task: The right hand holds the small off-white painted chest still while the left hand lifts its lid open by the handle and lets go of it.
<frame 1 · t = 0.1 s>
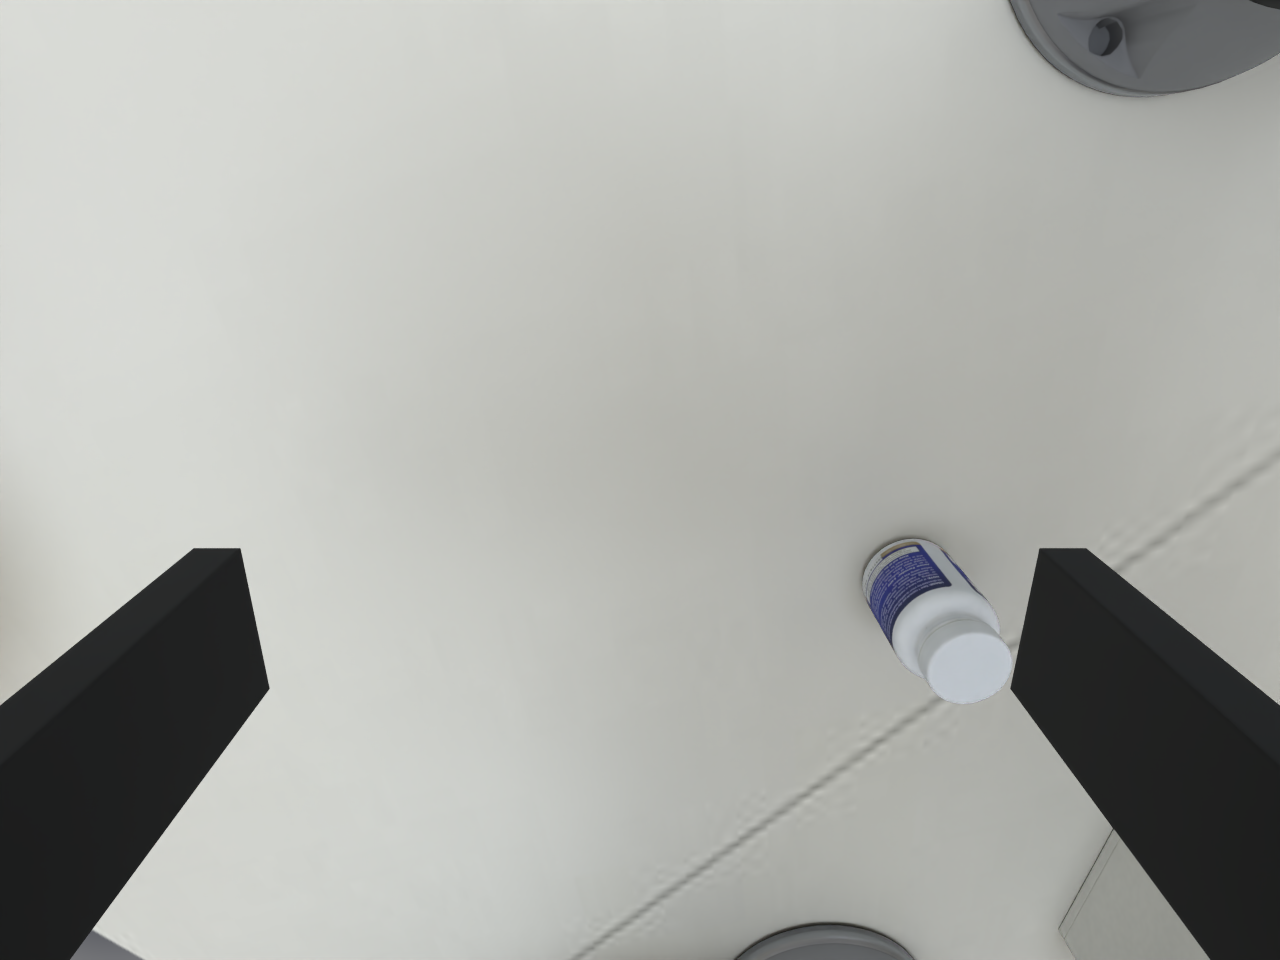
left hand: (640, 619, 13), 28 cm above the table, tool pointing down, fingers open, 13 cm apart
chest: (1172, 848, 51), on the table
pill bottle: (905, 576, 44), on the table
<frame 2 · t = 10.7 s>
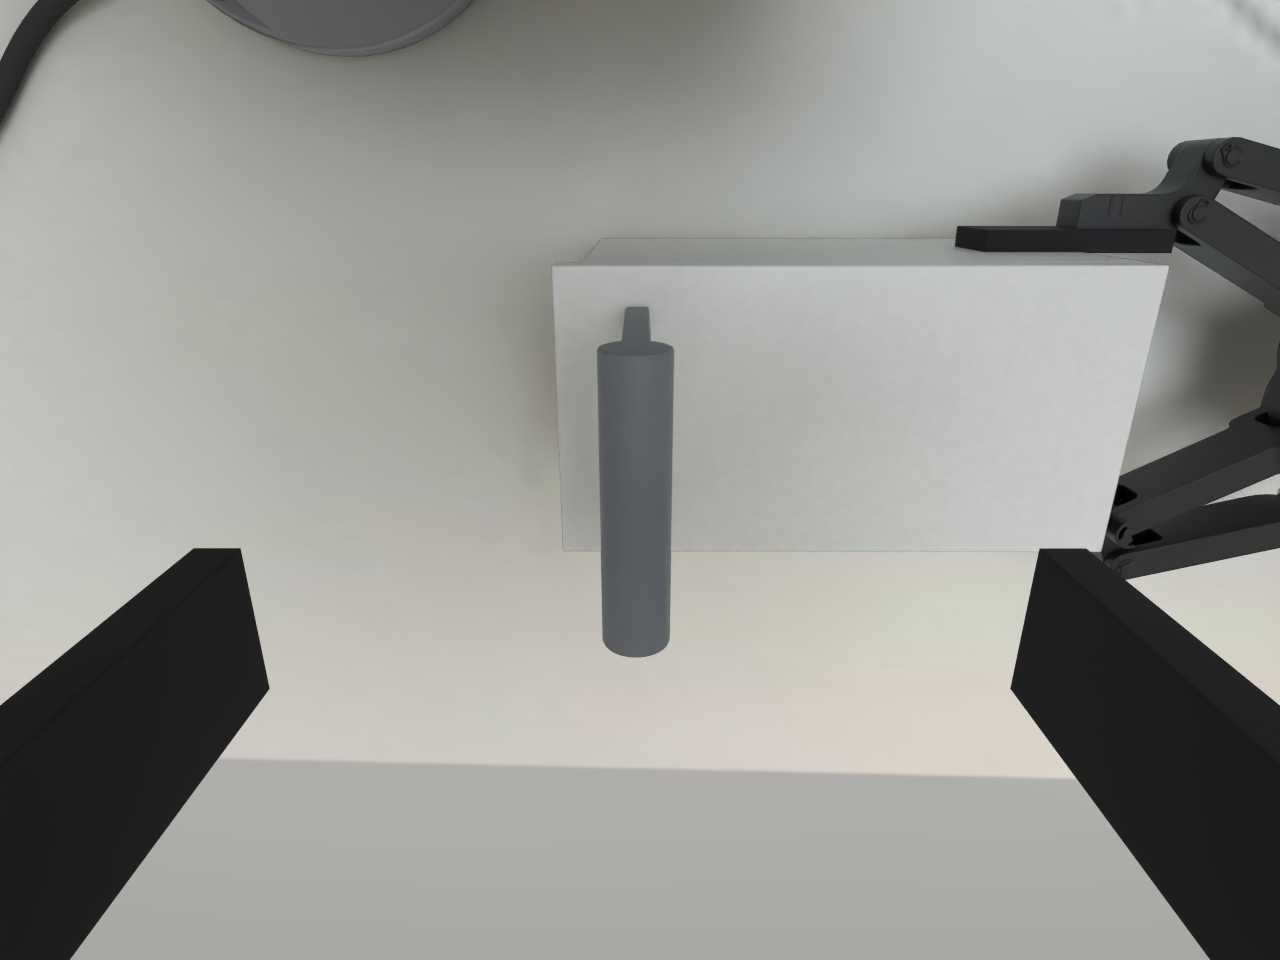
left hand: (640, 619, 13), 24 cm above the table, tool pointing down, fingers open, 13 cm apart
right hand: (950, 374, 30), fingers closed on chest, 9 cm apart
chest: (788, 343, 35), on the table, touching right hand
lid: (875, 453, 21), point 16 cm above the table, hinge at 0.0°
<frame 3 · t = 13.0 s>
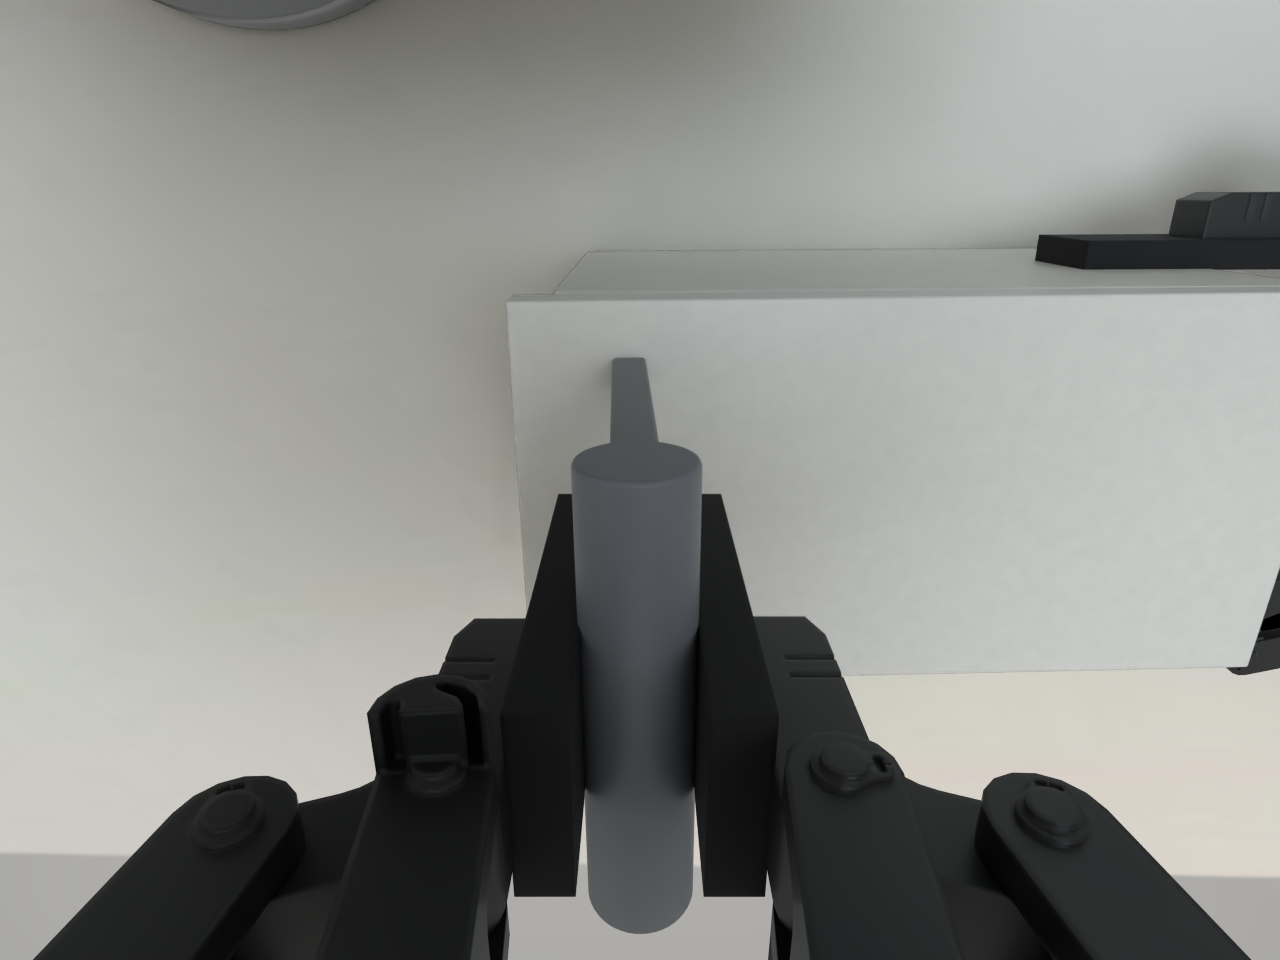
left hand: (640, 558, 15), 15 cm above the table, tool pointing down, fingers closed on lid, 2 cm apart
chest: (816, 376, 29), on the table, touching right hand
lid: (981, 573, 14), point 16 cm above the table, hinge at 1.8°, touching left hand
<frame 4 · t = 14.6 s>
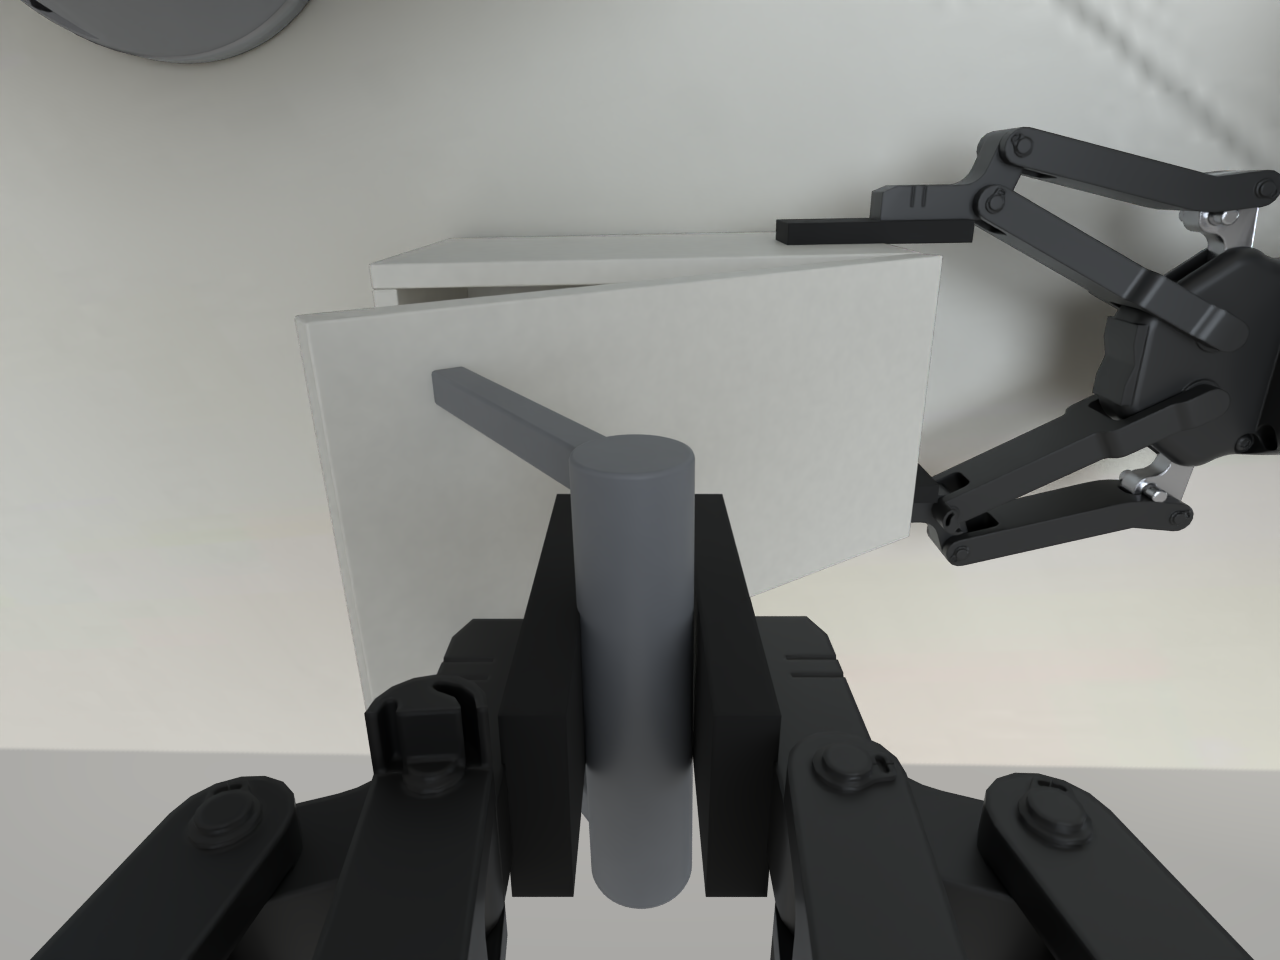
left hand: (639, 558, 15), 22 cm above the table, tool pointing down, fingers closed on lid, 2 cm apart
right hand: (775, 365, 30), fingers closed on chest, 9 cm apart
chest: (643, 338, 36), on the table, touching right hand
lid: (792, 504, 17), point 20 cm above the table, hinge at 32.9°, touching left hand
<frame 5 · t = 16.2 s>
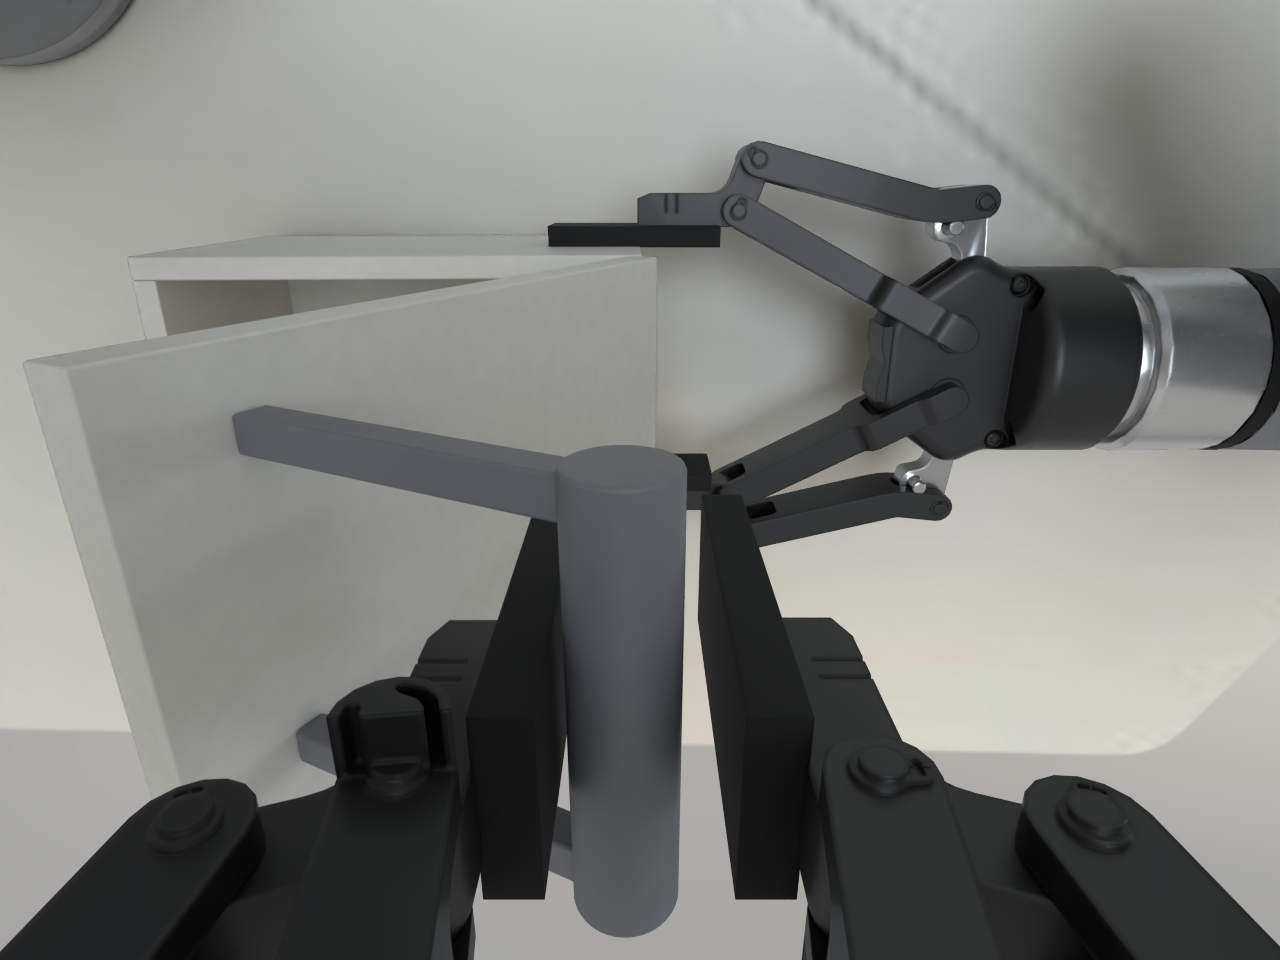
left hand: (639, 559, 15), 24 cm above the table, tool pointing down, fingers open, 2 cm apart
right hand: (557, 360, 32), fingers closed on chest, 9 cm apart
chest: (463, 333, 38), on the table, touching right hand
lid: (619, 501, 18), point 21 cm above the table, hinge at 62.3°
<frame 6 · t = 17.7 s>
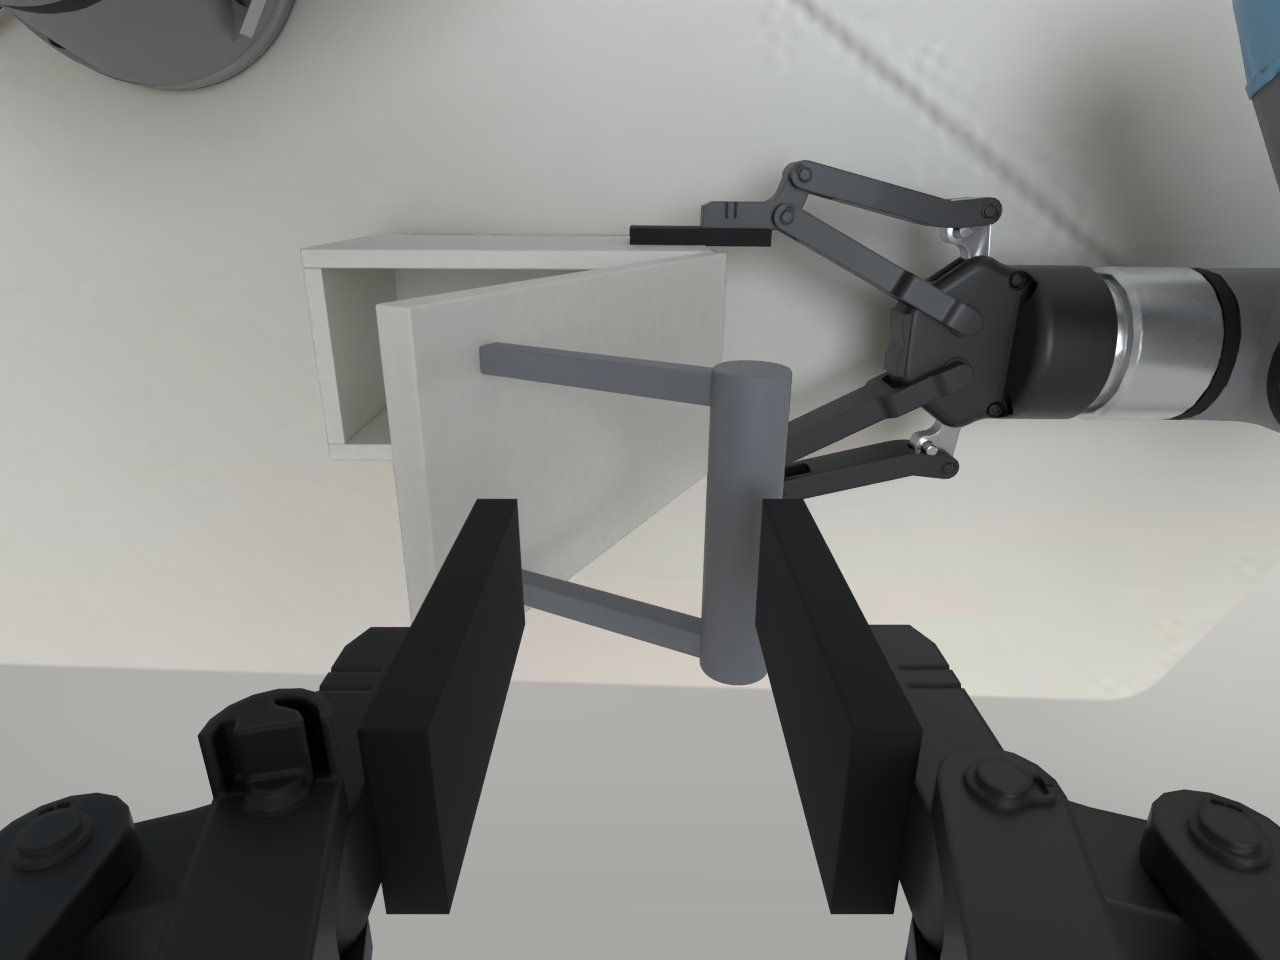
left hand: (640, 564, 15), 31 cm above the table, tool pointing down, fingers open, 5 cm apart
right hand: (629, 339, 38), fingers closed on chest, 9 cm apart
chest: (540, 319, 44), on the table, touching right hand
lid: (711, 430, 24), point 21 cm above the table, hinge at 60.9°
when the right hand's fingers open (6 cm above the table, at t = 20.2 s): chest stays where it is, on the table.
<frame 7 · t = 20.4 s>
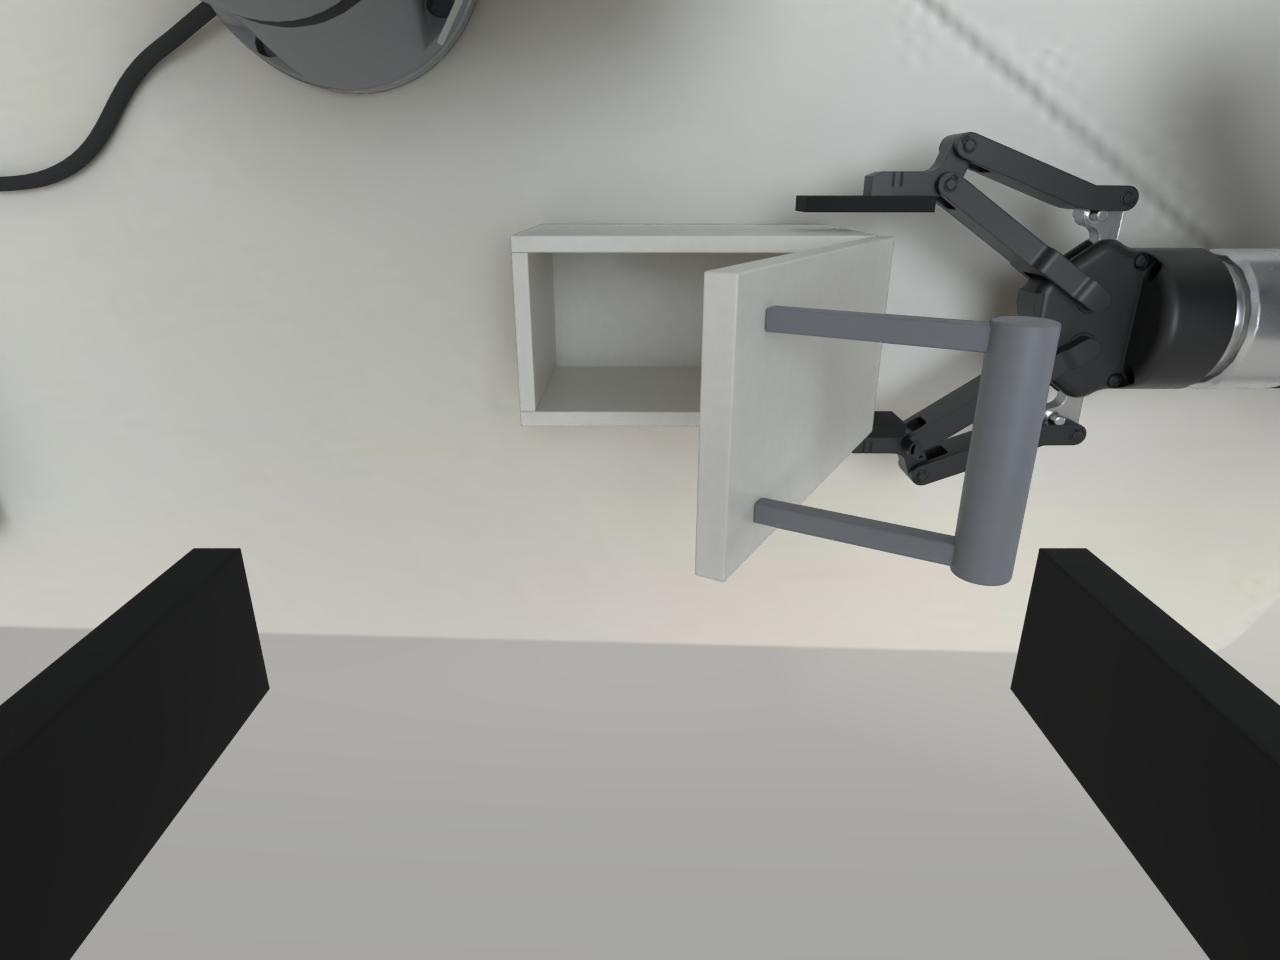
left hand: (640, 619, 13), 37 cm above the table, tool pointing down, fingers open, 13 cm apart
right hand: (792, 319, 42), fingers open, 11 cm apart
chest: (681, 302, 48), on the table
lid: (916, 387, 28), point 21 cm above the table, hinge at 60.1°
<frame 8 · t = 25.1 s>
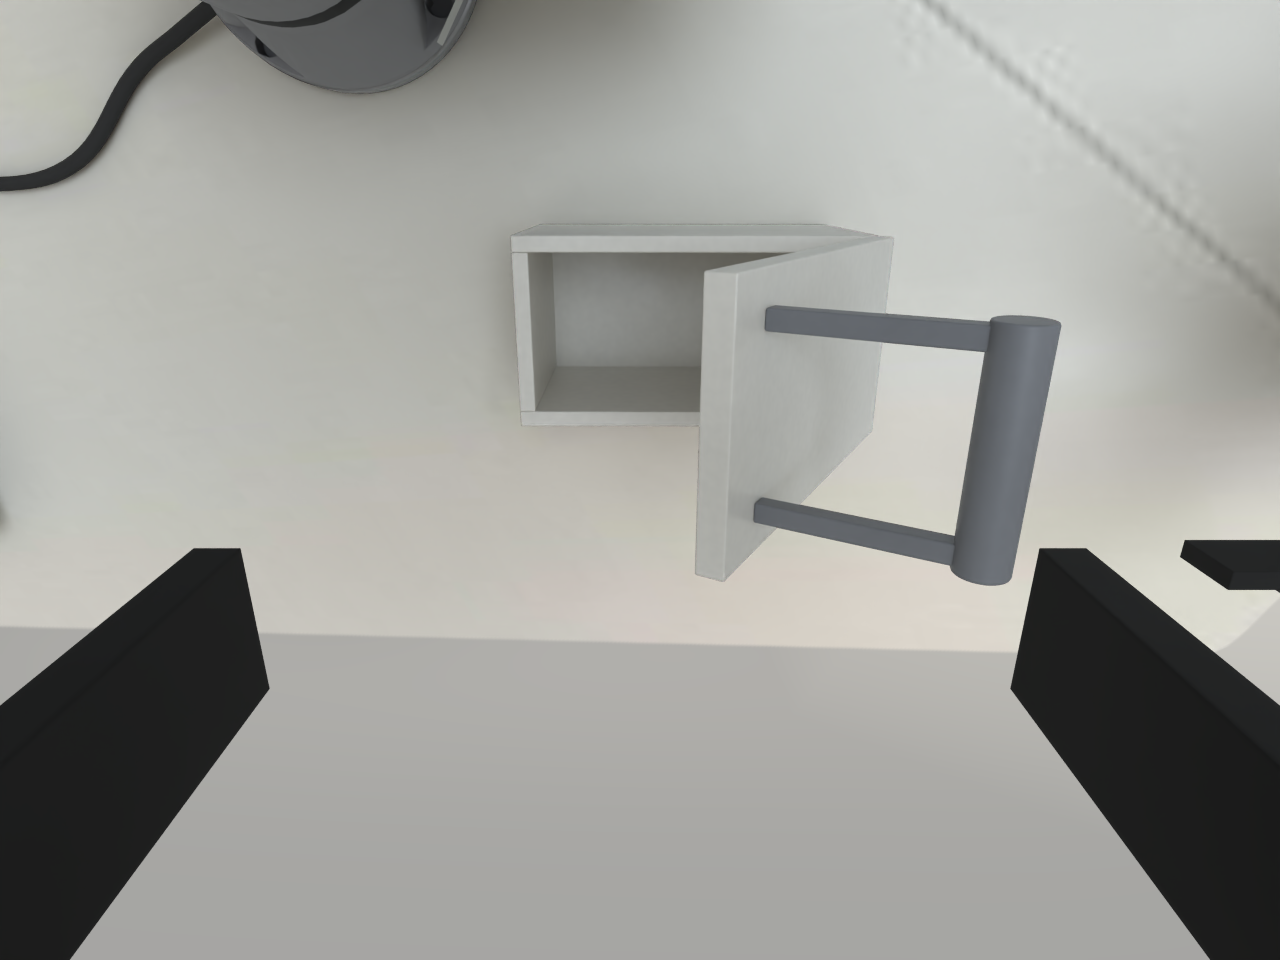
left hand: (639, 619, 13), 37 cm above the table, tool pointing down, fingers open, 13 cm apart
chest: (681, 302, 48), on the table
lid: (916, 387, 28), point 21 cm above the table, hinge at 60.1°
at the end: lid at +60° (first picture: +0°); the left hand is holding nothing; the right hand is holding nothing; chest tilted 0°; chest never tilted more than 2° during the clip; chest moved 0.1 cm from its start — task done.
